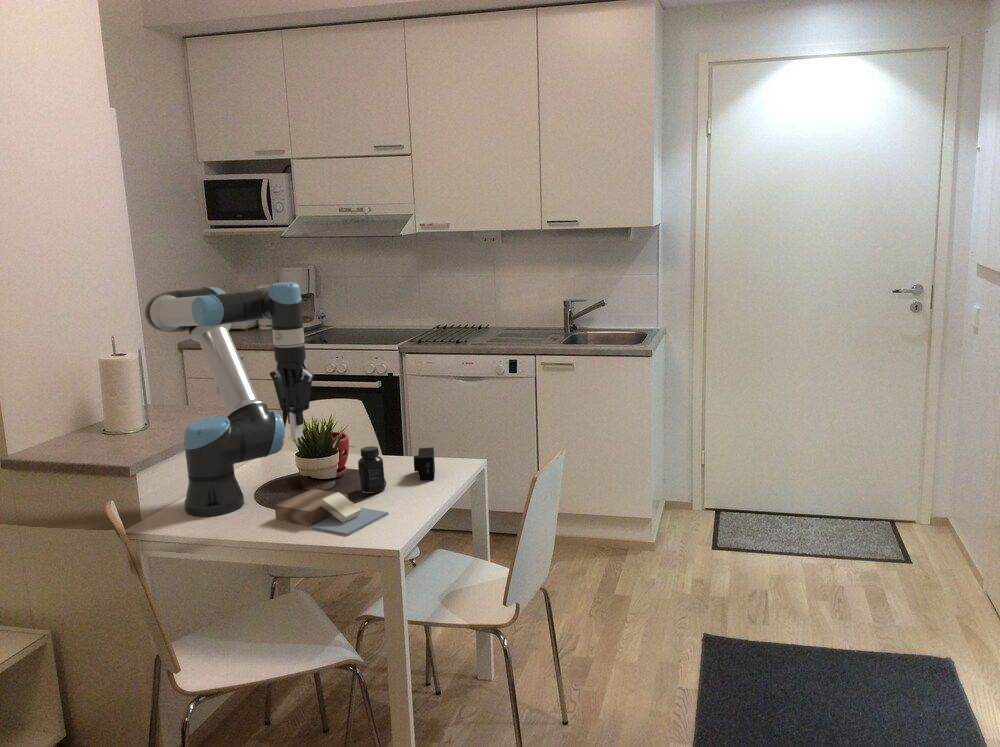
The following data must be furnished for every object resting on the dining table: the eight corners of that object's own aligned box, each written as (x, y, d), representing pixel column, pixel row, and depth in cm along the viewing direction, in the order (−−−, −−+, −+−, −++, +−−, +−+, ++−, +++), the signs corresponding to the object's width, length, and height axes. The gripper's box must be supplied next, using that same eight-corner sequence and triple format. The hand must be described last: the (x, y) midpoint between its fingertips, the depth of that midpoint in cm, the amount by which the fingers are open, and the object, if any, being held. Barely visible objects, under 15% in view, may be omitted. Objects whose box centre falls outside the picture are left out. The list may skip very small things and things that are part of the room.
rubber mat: (310, 528, 219) (310, 526, 219) (352, 508, 232) (352, 506, 232) (347, 535, 213) (347, 533, 213) (388, 514, 226) (388, 512, 226)
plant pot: (323, 485, 253) (320, 444, 250) (296, 477, 262) (293, 437, 259) (360, 473, 262) (357, 434, 260) (333, 466, 271) (330, 428, 269)
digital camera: (416, 470, 263) (415, 447, 262) (435, 469, 263) (433, 446, 262) (414, 481, 253) (413, 457, 251) (434, 480, 253) (432, 456, 252)
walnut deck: (276, 520, 226) (274, 505, 225) (313, 503, 238) (312, 488, 237) (312, 527, 220) (310, 511, 219) (348, 509, 232) (347, 494, 231)
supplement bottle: (388, 486, 249) (385, 445, 247) (380, 494, 242) (377, 451, 240) (364, 486, 250) (361, 444, 248) (356, 494, 244) (353, 451, 241)
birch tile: (320, 505, 223) (322, 498, 222) (336, 498, 228) (338, 491, 227) (343, 523, 220) (345, 516, 219) (359, 515, 225) (361, 509, 224)
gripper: (259, 346, 222) (267, 438, 227) (298, 348, 216) (306, 443, 220) (280, 341, 228) (288, 431, 233) (319, 344, 222) (326, 436, 226)
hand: (297, 436), depth 226 cm, fingers closed
